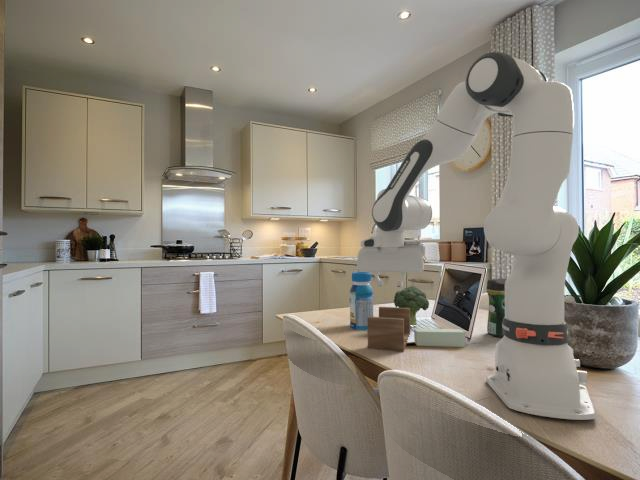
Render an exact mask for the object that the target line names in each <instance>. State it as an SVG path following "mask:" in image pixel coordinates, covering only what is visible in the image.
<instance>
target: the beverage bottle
mask: <svg viewBox="0 0 640 480" xmlns="http://www.w3.org/2000/svg"><path fill="white" fill-rule="evenodd" d="M351 282H352V283H353V284H352V286H351V287H350V290H349V293H350V296H349V322H350V323H349V327H350V328H351V329H353V330H358V331H368V317H374V302H375V301H374V296H373V294H374V290H373V288H372V285H371V284H370V283H371V282H372V274H371V272H370V271H354V272H351Z"/></svg>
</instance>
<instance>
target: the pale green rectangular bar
mask: <svg viewBox="0 0 640 480" xmlns="http://www.w3.org/2000/svg"><path fill="white" fill-rule="evenodd" d="M413 330H414V331H413V332H414V333H413V334H414V335H413V336H414V339H413V341H415V342H414V343H415V346H417V347H418V346H421V347H423V346H425V347H454V348H458V347H459V348H466V344H467V343H466V341H467V340H466V331H464V330H463V329H462V328H458V329H457V328H414V329H413Z"/></svg>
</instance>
